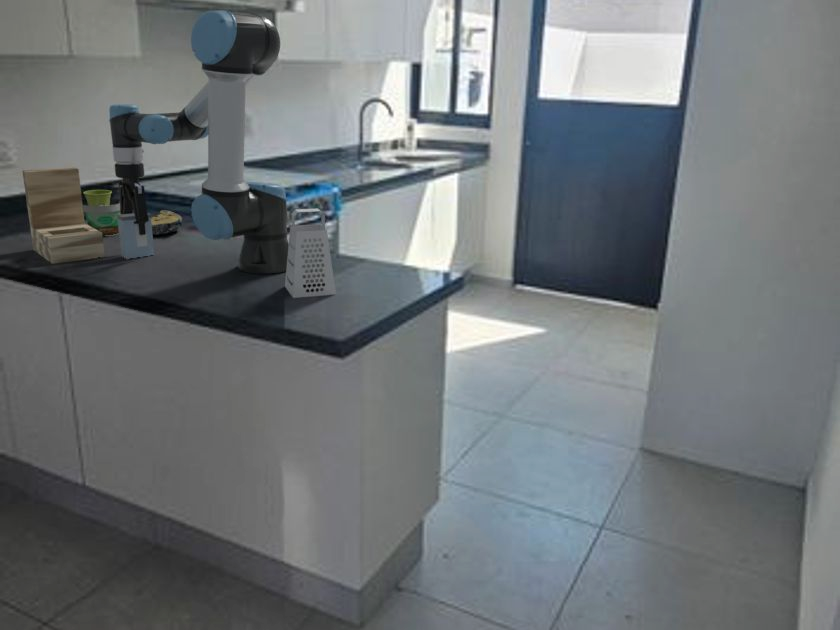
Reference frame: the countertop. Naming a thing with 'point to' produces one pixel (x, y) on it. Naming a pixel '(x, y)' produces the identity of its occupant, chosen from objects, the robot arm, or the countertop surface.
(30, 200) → the slotted wooden holder
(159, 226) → the yellow piece
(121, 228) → the pale blue plaque
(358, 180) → the countertop surface
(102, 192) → the plant pot
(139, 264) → the countertop surface
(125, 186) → the robot arm
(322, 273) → the grater
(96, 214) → the food container
